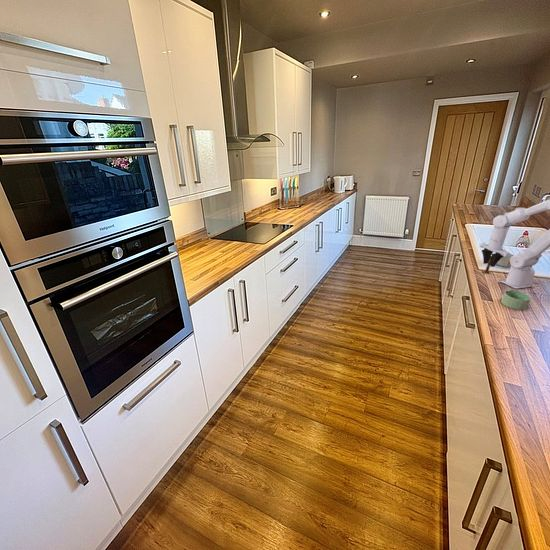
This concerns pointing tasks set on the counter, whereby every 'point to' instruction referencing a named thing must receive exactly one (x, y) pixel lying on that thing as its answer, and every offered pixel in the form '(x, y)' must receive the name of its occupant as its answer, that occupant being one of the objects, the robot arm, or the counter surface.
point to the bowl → (515, 299)
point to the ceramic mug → (505, 261)
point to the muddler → (488, 265)
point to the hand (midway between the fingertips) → (488, 264)
